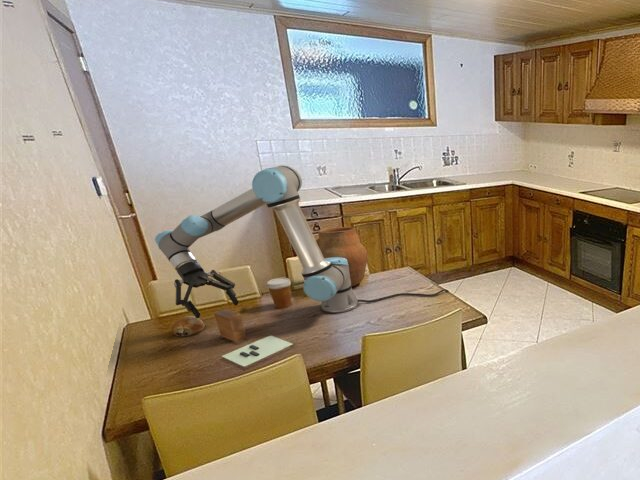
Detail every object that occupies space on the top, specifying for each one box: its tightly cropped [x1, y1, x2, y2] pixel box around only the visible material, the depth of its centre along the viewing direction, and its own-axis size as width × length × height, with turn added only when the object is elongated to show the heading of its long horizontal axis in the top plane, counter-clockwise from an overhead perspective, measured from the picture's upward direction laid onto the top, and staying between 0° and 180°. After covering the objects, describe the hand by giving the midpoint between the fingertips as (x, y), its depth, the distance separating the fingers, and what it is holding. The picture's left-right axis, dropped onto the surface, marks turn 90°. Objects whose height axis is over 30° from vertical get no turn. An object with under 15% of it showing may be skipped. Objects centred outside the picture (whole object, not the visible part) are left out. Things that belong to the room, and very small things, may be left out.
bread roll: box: [172, 315, 206, 337], centre depth 170 cm, size 10×10×8 cm
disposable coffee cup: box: [266, 277, 292, 309], centre depth 193 cm, size 10×10×12 cm
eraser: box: [214, 308, 247, 343], centre depth 164 cm, size 4×10×11 cm, turn 62°
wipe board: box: [221, 334, 293, 367], centre depth 156 cm, size 18×14×1 cm
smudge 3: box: [249, 351, 259, 356], centre depth 153 cm, size 1×4×1 cm, turn 62°
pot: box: [316, 226, 368, 287], centre depth 215 cm, size 24×24×30 cm
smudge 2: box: [249, 345, 259, 350], centre depth 157 cm, size 1×4×1 cm, turn 62°
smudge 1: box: [240, 352, 250, 357], centre depth 152 cm, size 1×4×1 cm, turn 62°
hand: (218, 309), depth 164 cm, fingers open, 13 cm apart
